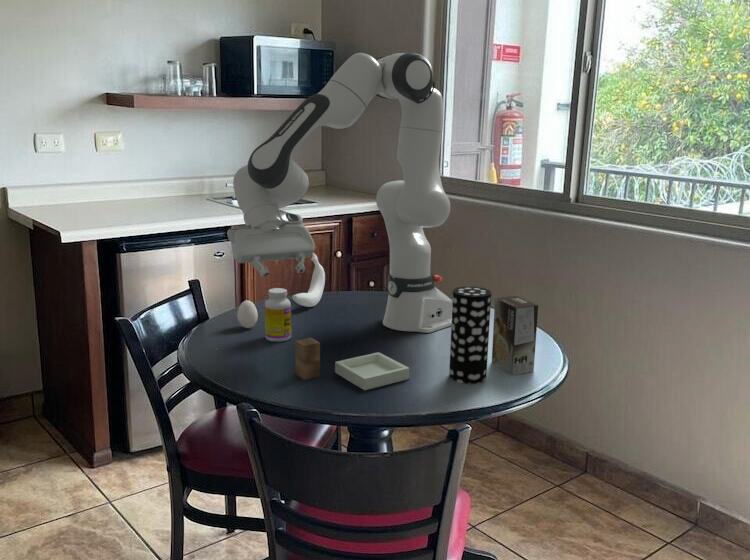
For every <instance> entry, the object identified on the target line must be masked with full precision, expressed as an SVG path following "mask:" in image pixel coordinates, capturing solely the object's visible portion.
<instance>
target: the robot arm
mask: <svg viewBox="0 0 750 560" xmlns="http://www.w3.org/2000/svg"><path fill="white" fill-rule="evenodd" d="M434 78H435V76H434V70H433V67H432V65H431V63H430V61H429V59H427V58H426V57H425V56H424V55H422V54H419V53H417V52H416V53H415V52H397V53H392V54H391V55H385V56H380V57H378V58H376V59H375V58H374V56H372V55H370V54H368V53H364V52H357V53H354V54H352V55H351V56H350V57H349V58H348V59H347V60H346V61H345V62H344V63H343V64H341V66H340V67H338V68H337V71H335V72H334V74H333V75H332V76H331V77H330V79H329V80H328V82H327V83H326V85H325V86H324V87H323V88H322V89H321V90H320V91H319V92H317V93H314V94H312V95H310V96H309V97H307V98H306V99H305V100H304V101H302V102H301V103H300V104H299V106H298V107H296V109H295V110H294V111H293V112H292V113H291V114H290V115H289V116H288V117H287V119H286V120H285V121H284V122H283V123H282V124H281V125H280V127H278V128H277V130H275V132H274V133H272V135H271V136H270V137H269V138H268V139H266V140H265V141H264V142H262V143H261V144H260V145H258V146H257V147H255V149H254V150H252V153H251V154H250V156H249V158H248V161H247V164H246V165H243V166H241V167H240V168H239V169H237V171H236V172H235V174H234V175H233V176H234V177H233V180H232V182H233V183H232V187H233V190H234V195H235V198H236V202H237V204H238V207H239V210H241V211H242V214H243V220H244V224H245V225H242V226H241V225H240V226H231V227H230V228H229V229H228V230H227V232H226V235H227V238H228V241H229V242H230V244H231V245H230V246H231V251H232V256H233V259H234V261H235V262H237V264H238V263H239V264H248V263H251V266H252V267H253V268H254V269H255V270H256V271H258V273H259V274H260V275H259V276H260V277H268V276H269V274H270V271H269V268H268V266H264V265H263V264H262V263H261V262H269V261H270V262H271V261H282V260H291V259H292V260H293V259H294V260H296V262H298V263H297V265H296V266H295V270H296V273H298V274H303V273H305V271H306V266H305V264H304V263H305V260H306V258H311V256H312V254H313V253H315V250H316V243H315V241H314V239H313V236H312V235H311V232H310V230H309V229H308V228H307V227H306V225H304V224H303V221H304V220H303V217H302V215H300V214H295V213H292V212H287V211H285V210H282V208H286V207H289V206H291V205H293V204H295V203H298V202H299V201H301V200H302V199H303V198H304V197H305V196H306V194H307V192H308V190H309V187H310V178H309V176H308V174H307V173H306V172H305V171H304V170H303V168H302V167H300V165H299V164H298V163H296V161H294V159H293V155H294V152H295V151H296V150H297V148H299V146H300V145H301V144H302V143H303V142H304V140H306V138H307V137H308V136H309V135H310V134H311V132H313V131H314V130H315V129H317V128H318V127H329V128H331V129H337V130H338V129H339V130H340V129H346V128H351V126H352V125H354V123H356V122H357V120H359V118H360V117H361V115H362V114H363V113H364V112H365V110H366V108H367V107H368V106H369V104H370V102H371V101H372V100H373V98H375V96H376V97H379V98H381V99H387V100H388V99H391V100H398V101H399V105H400V107H401V119H400V126H399V133H398V142H397V149H396V150H397V151H396V159H397V161H398V163H399V164H400V167H401V170H402V173H403V180H402V179H401V180H394V181H393V180H392V181H388V182H386V183H384V184H382V185H381V186H380V188H379V189H378V190H377V194H376V197H375V201H376V206H377V209H378V211H379V212H380V213H381V215H382V217H383V220H384V224H385V229H386V232H387V236H388V237H387V239H388V243H389V273H388V274H387V292H388V296H387V302H386V307H385V308H386V309H385V313H384V317H383V320H382V325H383V326H385V327H386V328H389V329H391V330H396V331H402V332H417V333H426V334H428V333H429V334H430V333H433V332H437V331H439V330H441V329H445V328H447V327H451V325H452V303H453V300H452V299H451V298H449V296H447V295H446V294H445V293H443V291H442V290H440V289H438V288H437V287H436V284H437V283H438V284H440V283H442V281H443V277H442V276H440V275H438V274H435V275H434V274H432V273H431V259H432V257H431V255H432V248H431V245H430V242H429V241H428V239H427V237H426V234H425V231H424V229H425V228H426V229H429V228H437V227H440V226H442V225H443V224H444V223H445V222H446V221H447V220H448V218H449V216H450V212H451V202H450V199H449V196H448V195H447V194H446V192H445V189H444V187H443V184H442V179H441V173H440V172H441V171H440V154H441V153H440V152H441V145H442V144H441V143H442V136H443V135H442V133H443V128H444V127H443V125H444V99H443V96H442V93H441V91H440V90H438V89H437V88H435V87H436V84H435V80H434ZM423 228H424V229H423ZM435 283H436V284H435Z"/></svg>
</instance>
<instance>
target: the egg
mask: <svg viewBox="0 0 750 560" xmlns="http://www.w3.org/2000/svg"><path fill="white" fill-rule="evenodd" d="M258 315H259V314H258V310H257V308H256V305H255V304H254V303H253V302H252V301H250V300H247V299H245V300H244V301H242V302H241V303H240V305H239V306H238V309H237V315H236V317H237V322H238V324H239V325H240V326H241V327H242V328H245V329H251V328H253V327H254V326H255V325H256V323H257V322H258V317H259V316H258Z"/></svg>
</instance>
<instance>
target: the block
mask: <svg viewBox="0 0 750 560" xmlns="http://www.w3.org/2000/svg"><path fill="white" fill-rule="evenodd" d="M294 344H295V345H294V346H295V347H294V349H295V353H294V354H295V357H294V358H295V375H296V376H298V378H301V379H302V380H304V381H306V380H310V379H314V378H315V379H316V378H319V377H321V343H320V342H319V341H318V340H316V339H315V338H313V337H307V338H301V339H295V340H294Z"/></svg>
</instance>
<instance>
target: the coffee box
mask: <svg viewBox="0 0 750 560" xmlns="http://www.w3.org/2000/svg"><path fill="white" fill-rule="evenodd" d="M493 308H494V310H493V311H494V313H493V329H492V331H493V332H492V345H491V346H492V350H491V363H492V364H493V365H495V366H497V367H498V368H500V369H502V370H503V371H505V372H507V373H509V374H510V375H512V376H516V375H520V374H527V373H532V372H534V371H535V359H536V357H535V356H536V344H537V343H536V341H537V328H538V314H539V304H536V303H534V302H531V301H529V300H527V299H524V298H522V297H520V296H517V295H510V296H501V297H496V298H494V307H493Z"/></svg>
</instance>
